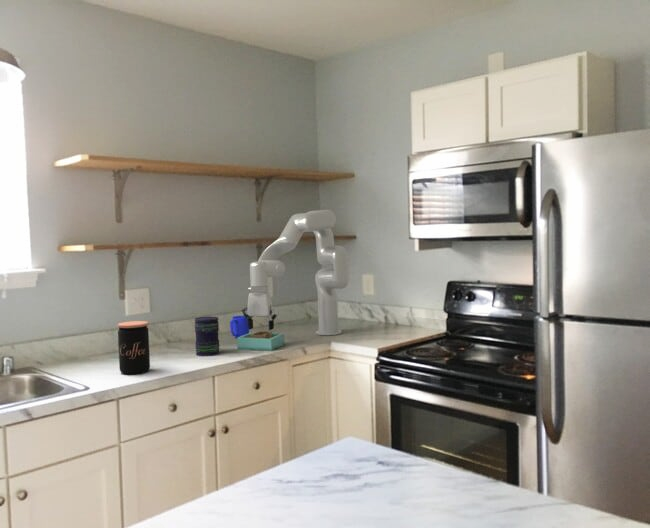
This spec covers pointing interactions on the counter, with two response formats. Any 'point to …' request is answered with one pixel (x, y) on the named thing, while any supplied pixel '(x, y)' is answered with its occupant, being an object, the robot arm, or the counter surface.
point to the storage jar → (207, 336)
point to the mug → (239, 326)
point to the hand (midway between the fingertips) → (260, 329)
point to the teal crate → (260, 342)
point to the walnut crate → (261, 335)
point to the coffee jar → (133, 347)
